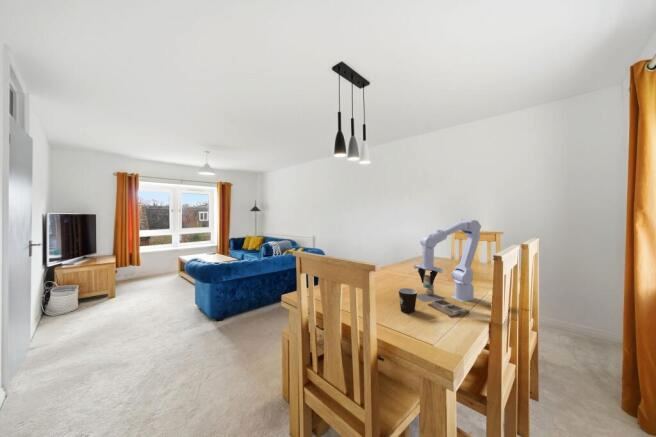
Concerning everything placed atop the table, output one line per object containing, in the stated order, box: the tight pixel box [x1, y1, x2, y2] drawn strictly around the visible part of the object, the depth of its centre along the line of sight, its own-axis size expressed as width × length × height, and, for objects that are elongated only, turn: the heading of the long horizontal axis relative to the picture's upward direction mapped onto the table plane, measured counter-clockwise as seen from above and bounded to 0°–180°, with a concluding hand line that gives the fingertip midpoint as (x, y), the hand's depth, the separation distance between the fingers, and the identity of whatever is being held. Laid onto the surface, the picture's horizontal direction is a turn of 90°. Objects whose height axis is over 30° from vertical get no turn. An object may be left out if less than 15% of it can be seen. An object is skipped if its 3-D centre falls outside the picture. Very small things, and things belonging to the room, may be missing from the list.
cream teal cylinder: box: [422, 274, 432, 289], centre depth 132 cm, size 4×4×6 cm
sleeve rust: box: [425, 284, 435, 296], centre depth 139 cm, size 4×4×6 cm
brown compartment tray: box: [427, 299, 470, 318], centre depth 121 cm, size 12×14×2 cm
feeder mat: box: [416, 292, 445, 303], centre depth 137 cm, size 14×10×1 cm
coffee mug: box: [398, 287, 418, 315], centre depth 120 cm, size 12×9×10 cm
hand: (427, 283), depth 132 cm, fingers closed on cream teal cylinder, 4 cm apart
